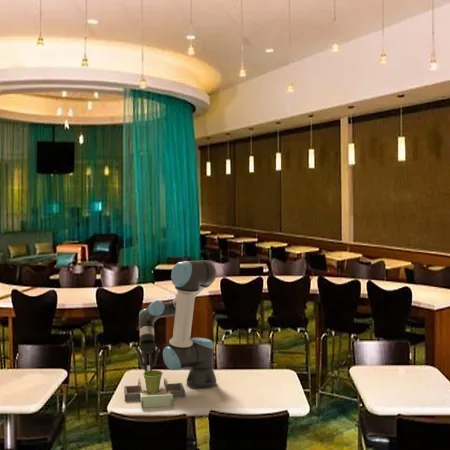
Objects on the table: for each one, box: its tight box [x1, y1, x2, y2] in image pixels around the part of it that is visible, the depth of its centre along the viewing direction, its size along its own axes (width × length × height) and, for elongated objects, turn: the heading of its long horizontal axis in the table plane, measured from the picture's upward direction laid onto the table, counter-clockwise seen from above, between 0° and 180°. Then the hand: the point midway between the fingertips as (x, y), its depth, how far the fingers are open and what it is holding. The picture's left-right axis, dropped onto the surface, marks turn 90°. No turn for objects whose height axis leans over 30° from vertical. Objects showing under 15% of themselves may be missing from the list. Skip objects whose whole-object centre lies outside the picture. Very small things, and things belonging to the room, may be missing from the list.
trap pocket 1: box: [123, 384, 141, 402], centre depth 266 cm, size 12×8×3 cm, turn 12°
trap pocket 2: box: [166, 382, 186, 399], centre depth 270 cm, size 12×8×3 cm, turn 12°
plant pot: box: [142, 369, 163, 394], centre depth 273 cm, size 9×9×9 cm
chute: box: [137, 377, 169, 393], centre depth 278 cm, size 10×14×3 cm
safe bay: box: [139, 390, 174, 409], centre depth 257 cm, size 11×14×5 cm
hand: (148, 378), depth 277 cm, fingers closed
